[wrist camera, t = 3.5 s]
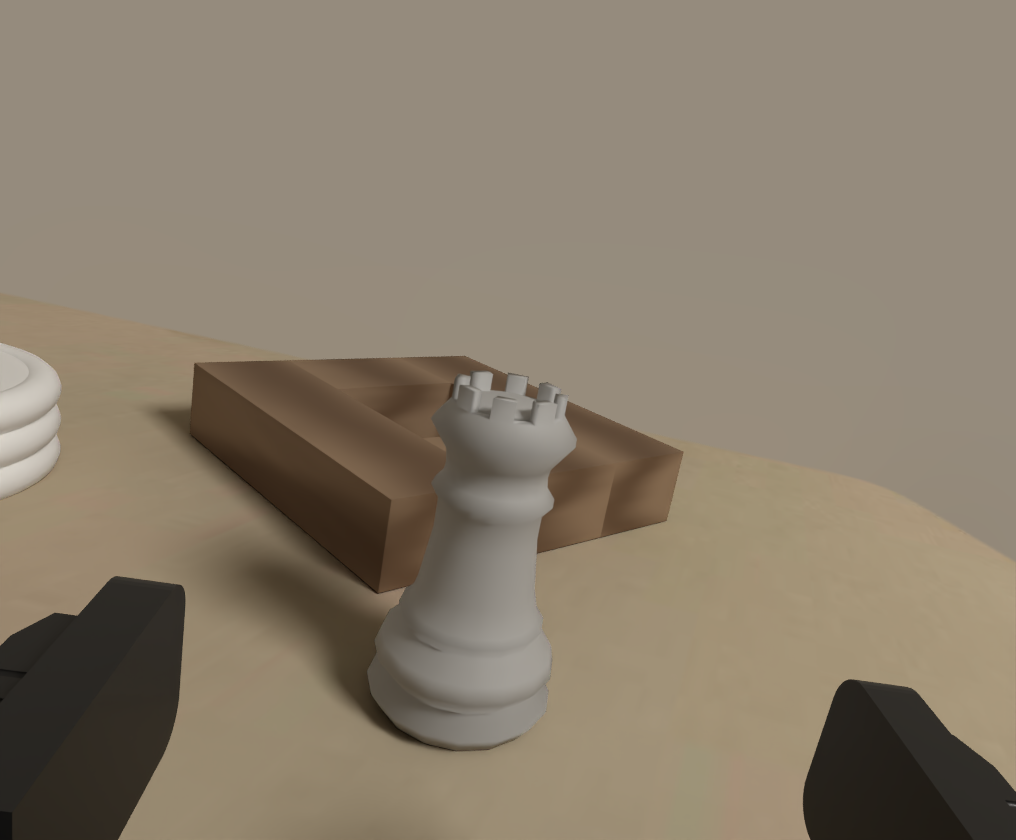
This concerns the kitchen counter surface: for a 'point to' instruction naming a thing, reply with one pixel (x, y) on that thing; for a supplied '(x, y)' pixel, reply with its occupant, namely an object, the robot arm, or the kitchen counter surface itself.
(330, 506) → the socket block
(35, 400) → the coaster
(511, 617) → the rook chess piece
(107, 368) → the kitchen counter surface
